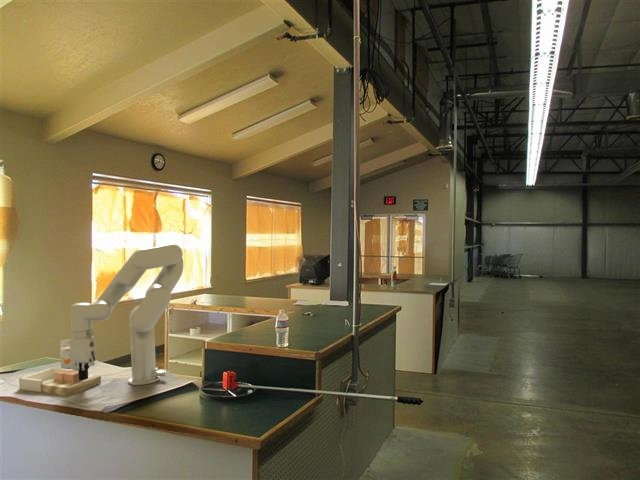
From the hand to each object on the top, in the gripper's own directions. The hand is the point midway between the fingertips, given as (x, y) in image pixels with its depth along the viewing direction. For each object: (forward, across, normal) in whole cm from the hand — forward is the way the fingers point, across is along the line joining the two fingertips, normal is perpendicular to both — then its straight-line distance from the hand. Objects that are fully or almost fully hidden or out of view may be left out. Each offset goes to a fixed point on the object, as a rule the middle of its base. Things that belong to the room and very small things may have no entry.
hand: (83, 379), depth 198 cm
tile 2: (+1, +6, 0) cm, 6 cm away
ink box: (+4, +26, -17) cm, 31 cm away
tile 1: (+1, +11, 0) cm, 11 cm away
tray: (+4, +20, 0) cm, 21 cm away
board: (+4, +7, 0) cm, 8 cm away
